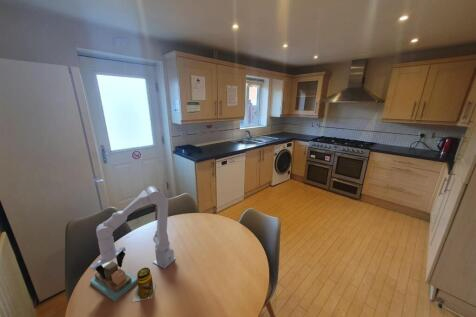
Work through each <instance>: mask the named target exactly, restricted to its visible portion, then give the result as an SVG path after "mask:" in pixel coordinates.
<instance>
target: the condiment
mask: <svg viewBox="0 0 476 317" xmlns="http://www.w3.org/2000/svg"><path fill="white" fill-rule="evenodd" d="M136 276H137V277H136V279H137V283H136V284H137V287H136V290H135V293H134V295H133V299H132V303H134V302H140V301H145V300H149V299H153V298H154V293H155V291H156V285H157V284H156V283H154V284H153V275H152V273H151V269H150V268H149V267H142V268H141V269H139V270H138V271H137V274H136ZM148 297H149V298H148Z"/></svg>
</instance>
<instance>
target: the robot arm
mask: <svg viewBox="0 0 476 317" xmlns="http://www.w3.org/2000/svg"><path fill="white" fill-rule="evenodd" d="M150 204H153V205H157V216H156V219H157V220H156V230H155V233H154V236H153V242H154V243H155V246H154V252H155V259H154V260H153V261H152V263H153V264H154V265H157V266H159V267H160V268H163V269H166V268H167V267H169V266H170V265H171V264H172V263H173V262H174V261H175V260H176V257H175V254H174V253H175V252H174V249H172V248H171V247H170V246H171V245H170V241H169V235H168V232H167V231H168V219H169V218H168V217H169V200H168V199H167V197H166V196H165V195H164V193H163V192H162V191H161V190H160V189H159V188H158V187H156V186H154V185H151V186H147V187H146V188H145V189H144V190H142V191H141V192H140V193H139V194H138V196H137V197H135V199H133V200H132V201H131V203H129V204H128V205H127V206H125V207H124V208H123V209H122V210H117V211H116V212H113V213H112V214H111V216H110V217H109V218H108V219H107V220H104V221H103V222H102V223H100V224H98V226H96V229H95V231H96V232H95V233H96V238H97V241H98V242H97V244H98V247H99V254H100V258H99V259H98V260H96V261H95V262H93V263H92V264H91V265H90V270H91V271H92V272H95V271H96V273H97V272H98V273H99V274H100V276H101V278H103V279H105V278H106V277H105V268H104V267H103V266H102V264H104V263H107V262H112V261H113V260H114V259H116V262H117V263H116V264H117V265H118V268H120V269H122V267H123V262H124V258H125V256H126V252H125V251H126V246H124V245H122V246H120V247H118V248H116V247H115V240H114V236H113V234H114V233H113V232H114V231H116V229H118V228H119V227H120V226H121V225H122V224H124V223H125V222H126V221H127V219H128V216H129V215H130V214H132V213H133V212H134V211H136V210H137V209H138V208H140V207H141V206H142V205H150Z"/></svg>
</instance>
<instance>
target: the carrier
mask: <svg viewBox="0 0 476 317" xmlns="http://www.w3.org/2000/svg"><path fill="white" fill-rule="evenodd" d="M104 268H105V277H106V278H105V279H103V278H101V276H100V274H99V273H98V272H97V271H96V272H95V273H94V277H95V278H96V279H98V280H99V281H101V282H102V283H103V284H105V285H106V286H107V287H109V288H110V289H112V290H113V291H114V292H116V293H118V292H119V291H120V290H119V289H121V288H124V287H125V286H126V284H127V283H130V282H132V280H131V277H129V276H128V275H126V274H125V275H126V279H125V280H123V281H122V282H121V283H120V284H118V285H117V284H115V283H114V282H112V276H111V274H113V273H114V272H115V271H117V270H118V268H119V266H118V264H117V263H116V262H115V261H113V260H111V261H110V263H109V264H108V265H106V266H105V267H104Z"/></svg>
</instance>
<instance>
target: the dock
mask: <svg viewBox="0 0 476 317" xmlns="http://www.w3.org/2000/svg"><path fill="white" fill-rule="evenodd" d="M118 269H121V268H120V267H118ZM125 274H126V275H128V276H129V277H131V280H132V282H130V283H127V284H126V286H125V287H124V288H121V289H119V290H120V291H119V292H118V293H116V292H114V291H113V290H112V289H110V288H109V287H107V286H106V285H105V284H103V283H102V282H101V281H99V280H98V279H96V278H95V276H94V277H92V278H91V279H90V280H89V284H90V285H92V286H93V287H95V289H97V290H99V291H100V292H101V293H103V295H105V296H106V297H108V298H109V299H110V300H112V301H113V302H115V303H116V302H117V301H118V300H119V299H120V298H121V297H122V296H123V295H125V294H126V293H127V292H129V290H130V289H132V288H133V287H134V286H135V285H136V284H138V283H137V277H134V276H133V275H131V274H129V273H128V272H126V271H125Z"/></svg>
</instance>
